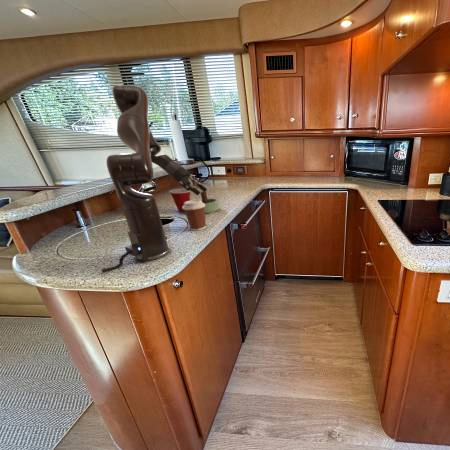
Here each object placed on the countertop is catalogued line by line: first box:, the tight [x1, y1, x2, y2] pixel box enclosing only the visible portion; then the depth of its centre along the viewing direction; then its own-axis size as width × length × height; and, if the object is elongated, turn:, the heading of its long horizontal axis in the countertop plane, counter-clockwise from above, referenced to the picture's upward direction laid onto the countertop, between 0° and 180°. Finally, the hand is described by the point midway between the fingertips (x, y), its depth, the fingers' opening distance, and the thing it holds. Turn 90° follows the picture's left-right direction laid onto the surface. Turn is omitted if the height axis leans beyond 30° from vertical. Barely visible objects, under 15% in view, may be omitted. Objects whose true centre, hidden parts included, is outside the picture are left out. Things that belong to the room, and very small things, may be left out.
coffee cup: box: [182, 199, 207, 232], centre depth 103 cm, size 9×9×12 cm
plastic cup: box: [168, 188, 191, 213], centre depth 131 cm, size 11×11×12 cm
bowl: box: [204, 197, 220, 215], centre depth 130 cm, size 13×13×6 cm
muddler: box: [200, 191, 210, 204], centre depth 129 cm, size 4×4×10 cm
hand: (202, 192), depth 127 cm, fingers open, 8 cm apart
